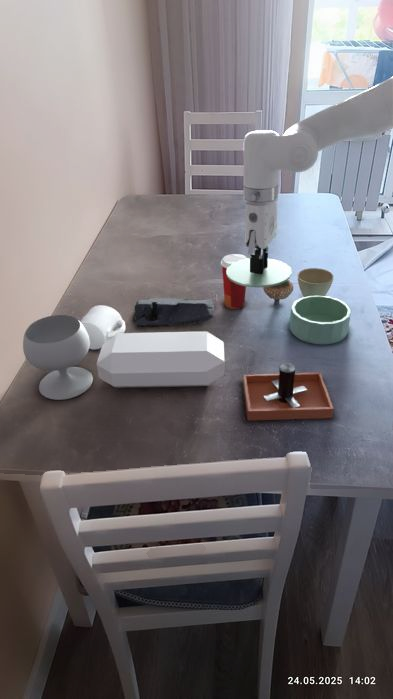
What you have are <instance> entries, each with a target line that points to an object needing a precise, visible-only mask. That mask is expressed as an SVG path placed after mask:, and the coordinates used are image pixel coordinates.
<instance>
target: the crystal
mask: <svg viewBox="0 0 393 699" xmlns="http://www.w3.org/2000/svg"><path fill="white" fill-rule="evenodd" d="M225 362H226V361H225V342H224V341H223V340H222V339H220V338H218V337H216V336H215V335H214V334H212V333H210V332H209V331H207V330H205V331H204V330H203V331H165V332H164V331H161V332H124V333H117V334H116V335H114V336H113V337H112V338H110V339H109V340H108V341H107V342H105V343H104V344H103V345H102V347H101V348H100V351H99V355H98V358H97V361H96V369H97V374H98V379H101V380H102V381H104V382H105V383H107V384H109V385H110V386H112V387H114V388H118V389H120V388H124V389H125V388H126V389H127V388H172V387H173V388H174V387H175V388H178V387H182V388H183V387H209V386H210V385H212V384H213V383H215V382H217V381H218V380H220V379H221V378H223V377H224V376H225V375H226V374H225V373H226V372H225V370H226V369H225V368H226V367H225V364H226V363H225Z"/></svg>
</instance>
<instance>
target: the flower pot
mask: <svg viewBox="0 0 393 699" xmlns="http://www.w3.org/2000/svg"><path fill="white" fill-rule="evenodd" d="M296 276H297V283H298V284H297V285H298V287H299V290H300V293H301V295H302V297H307V296H319V295H320V296H326V295H327V294H328V293H329V291H330V289H331V287H332V284H333V281H334V278H335V277H334V274H333V273H332V272H331V271H330V270H327V269H324V268H318V267H309V268H308V267H307V268H304V269H302V270H300V271H298V273H297V275H296Z"/></svg>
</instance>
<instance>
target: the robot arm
mask: <svg viewBox="0 0 393 699" xmlns="http://www.w3.org/2000/svg"><path fill="white" fill-rule="evenodd" d="M392 129H393V76H392V77H390V78H388V79H386V80H384V81H383V82H380V83H378V84H376V85H375V86H373V87H370V88H369V89H366V90H364V91H362V92H360V93H358V94H356V95H353V96H350V97H349V98H347V99H344V100H343V101H340V102H338V103H336V104H333V105H330V106H329V107H326V108H324V109H322V110H320V111H318V112H316V113H314V114H312V115H310V116H308V117H306V118H305V119H302V120H300V121H299V122H297V123H295V124H293V125H292V126H291V127H289V128H288V129H287V130H286V131H285V132H284V134H282V135H279V133H277V132H276V131H273V130H267V129H266V130H265V129H264V130H254V131H253V130H252V131H250V132H248V133H247V134H246V135H245V136H244V139H243V188H242V189H243V191H242V192H243V199H242V200H243V202H244V203H246V204H245V214H244V234H243V237H244V246H245V247H247V248H248V249H247V255H249V258H250V272H251V273H256V274H263V270H264V269H266V268H267V267H268V258H269V248H270V247H269V246H270V244H271V243H272V242H273V241H274V239H275V238H276V236H277V232H278V230H277V228H278V225H277V224H278V222H277V221H278V210H277V209H278V208H277V202H278V200H279V179H280V171H282V172H283V171H284V172H289V173H303V172H306V171H309V170H310V169H311V168H312V167H314V165H315V164H316V162H317V161H318V157H319V152H321V151H323V150H325V149H327V148H329V147H331V146H333V145H336V144H339V143H342V142H344V141H349V140H353V139H354V140H356V139H361V140H363V139H369V138H374V137H377V136H380V135H382V134H384V133H386V132H388V131H390V130H392ZM257 249H259V251H258V250H257ZM263 250H264V258H262V256H263Z"/></svg>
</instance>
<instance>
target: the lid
mask: <svg viewBox="0 0 393 699" xmlns="http://www.w3.org/2000/svg"><path fill="white" fill-rule="evenodd" d="M257 250H258V251H259V249H257ZM262 258H264V250H263V256H262ZM292 274H293V273H292V268H291V266H290V265H288V264H287V263H286V262H283V261H281V260H278V259H276V258H269V257H268V267H267V268H266V269H264V270H263V274H256V273H251V272H250V257H247V259H243V260H239V261H237V262H234V263H232V264H231V265H230V266H229V267H228V268H227V270H226V275H227V277H228V278H229V280H231V281H232V282H234V283H236V284H239V285H242V286H246V288H247V287H248V288H263V287H270V286H275V285H279V284H281V283H284V282H285V281H287V280H290V278H291V277H292Z"/></svg>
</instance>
